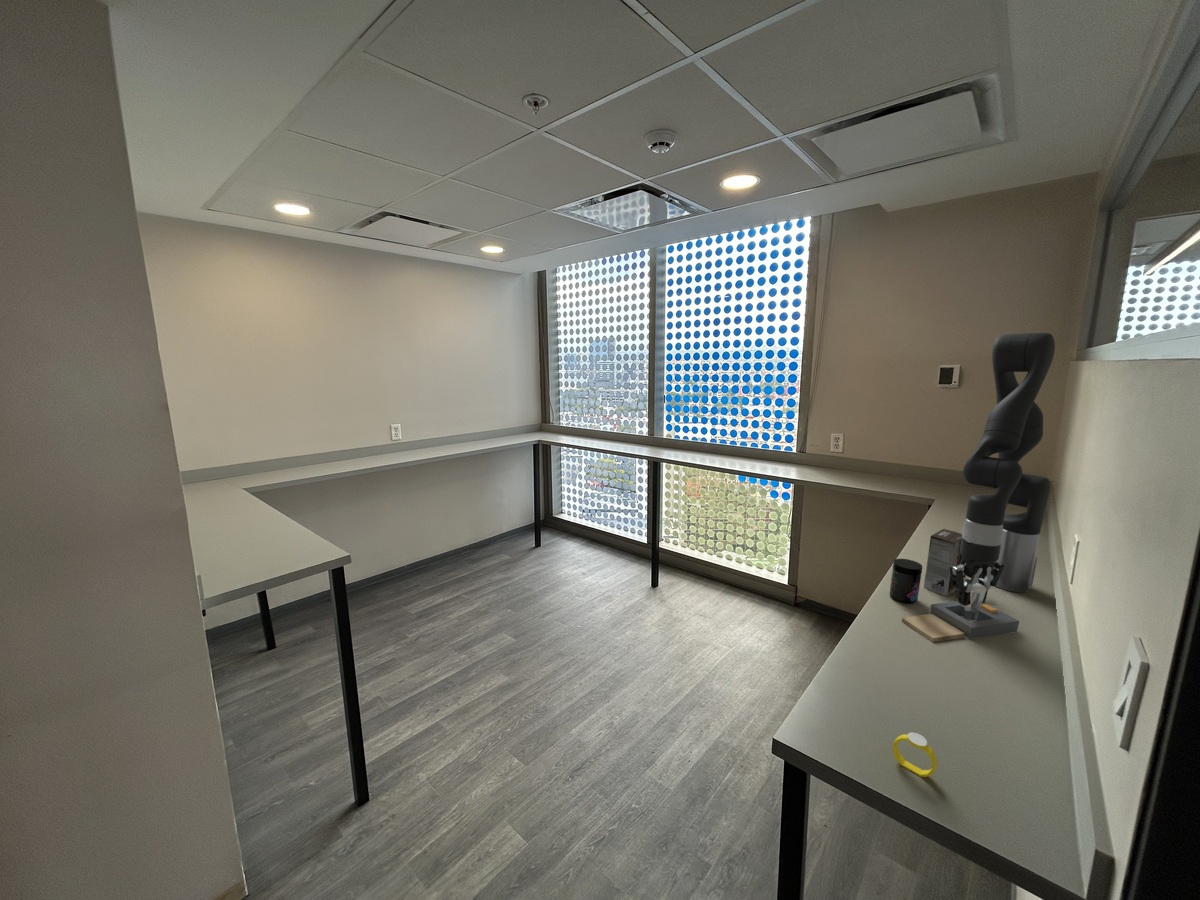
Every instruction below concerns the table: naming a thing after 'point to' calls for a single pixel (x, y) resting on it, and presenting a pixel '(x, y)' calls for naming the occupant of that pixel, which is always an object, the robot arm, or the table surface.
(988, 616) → the gray window plate
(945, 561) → the coffee box
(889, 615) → the table surface
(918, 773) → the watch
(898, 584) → the supplement container
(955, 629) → the cork pad
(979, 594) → the milkshake
